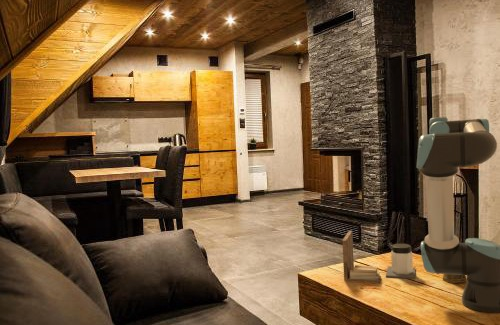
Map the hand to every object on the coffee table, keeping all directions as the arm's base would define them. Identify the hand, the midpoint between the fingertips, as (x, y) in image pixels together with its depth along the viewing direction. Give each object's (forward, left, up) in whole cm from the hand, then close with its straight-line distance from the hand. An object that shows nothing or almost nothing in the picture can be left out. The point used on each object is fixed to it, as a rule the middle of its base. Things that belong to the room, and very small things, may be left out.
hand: (441, 200), depth 191 cm
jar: (-5, +17, -32) cm, 37 cm away
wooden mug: (-12, -5, -33) cm, 35 cm away
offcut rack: (-11, +34, -33) cm, 48 cm away
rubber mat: (-5, +18, -33) cm, 38 cm away
